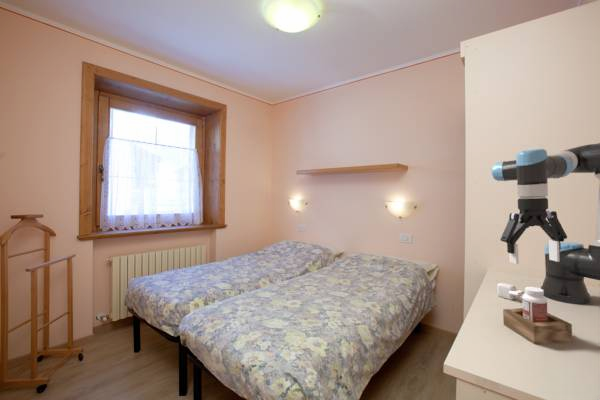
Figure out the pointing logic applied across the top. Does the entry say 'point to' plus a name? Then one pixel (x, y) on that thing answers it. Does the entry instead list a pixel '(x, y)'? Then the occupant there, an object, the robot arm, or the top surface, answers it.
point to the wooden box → (538, 327)
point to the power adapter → (508, 291)
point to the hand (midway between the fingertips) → (534, 261)
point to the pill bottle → (534, 305)
